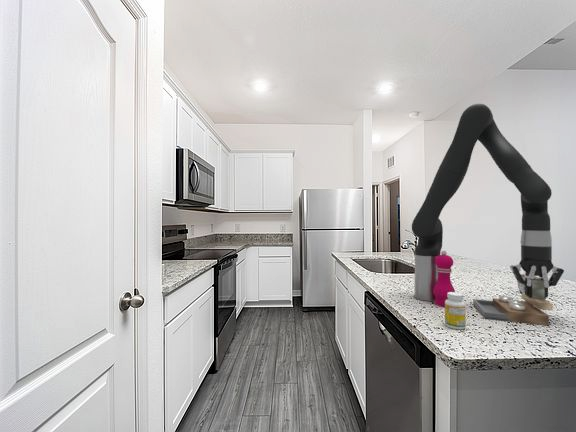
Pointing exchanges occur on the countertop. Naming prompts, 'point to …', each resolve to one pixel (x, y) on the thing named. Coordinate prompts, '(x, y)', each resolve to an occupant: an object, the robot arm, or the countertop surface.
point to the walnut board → (522, 313)
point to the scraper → (538, 296)
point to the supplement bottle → (455, 311)
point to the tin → (521, 286)
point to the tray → (489, 310)
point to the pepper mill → (443, 278)
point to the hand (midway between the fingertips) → (536, 297)
